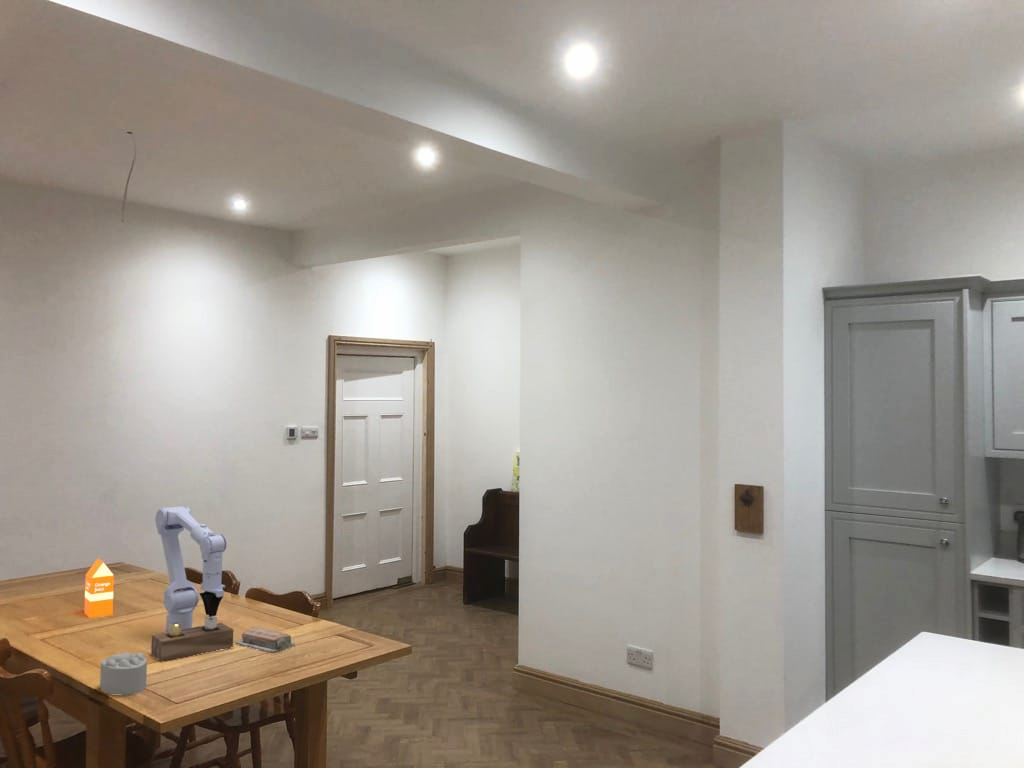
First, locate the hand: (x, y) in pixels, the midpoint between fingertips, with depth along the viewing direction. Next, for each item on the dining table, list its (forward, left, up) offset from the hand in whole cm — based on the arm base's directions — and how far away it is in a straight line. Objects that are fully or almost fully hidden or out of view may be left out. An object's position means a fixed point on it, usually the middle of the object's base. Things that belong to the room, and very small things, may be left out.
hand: (211, 615), depth 249 cm
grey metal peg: (0, 0, -7) cm, 7 cm away
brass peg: (0, -11, -7) cm, 13 cm away
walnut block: (0, -5, -10) cm, 12 cm away
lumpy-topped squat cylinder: (+21, -31, -11) cm, 39 cm away
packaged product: (+8, +15, -11) cm, 20 cm away
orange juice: (-66, -16, -11) cm, 69 cm away
